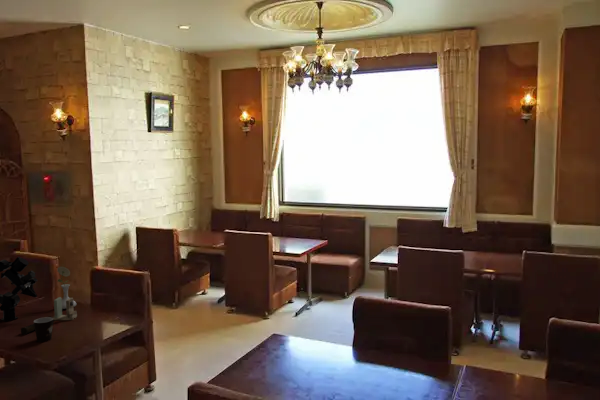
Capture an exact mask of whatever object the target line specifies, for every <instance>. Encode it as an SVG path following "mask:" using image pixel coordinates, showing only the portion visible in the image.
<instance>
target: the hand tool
mask: <svg viewBox="0 0 600 400" xmlns="http://www.w3.org/2000/svg"><path fill="white" fill-rule="evenodd" d="M48 317H50V318H52V317H53V316H48ZM34 331H35V326H34V323H32V324H29V325H27V326H25V327H20V333H21V335H24V336H25V335H27V334H29V333H31V332H34Z"/></svg>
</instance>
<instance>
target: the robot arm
mask: <svg viewBox="0 0 600 400" xmlns="http://www.w3.org/2000/svg"><path fill="white" fill-rule="evenodd" d="M29 263H30V262H29V261H28V260H27V259H25V258H23V257H21V256H17V257H16V258H15V260H14V261H9V260H7V259H1V260H0V279H5V278H6V279H8V281H10V282H11V283H10V284H11V285H14V286H15V287H14V288H13V290H11V291H7V292H6V293H3V294H2V293H0V311H1V312H2V315H3V316H2V318H0V320H1V321H4V322H10V321H14V320H17V319H19V317H18V316H16V308H15V307H17V306H18V304H19V303H20V302H21V298H20V295H25V296H29V297H31V298H38V295H37V293H36V290H35V289H34V285H35V284H36V283H37V282H38V279H37V278H36V277H37V276H36V272H34V270H30V271H28V272H27V274H25V275H24V274H21V273H22V271H24V269H26V267H28V265H29ZM19 272H20V273H19ZM19 292H20V295H18V293H19Z"/></svg>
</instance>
